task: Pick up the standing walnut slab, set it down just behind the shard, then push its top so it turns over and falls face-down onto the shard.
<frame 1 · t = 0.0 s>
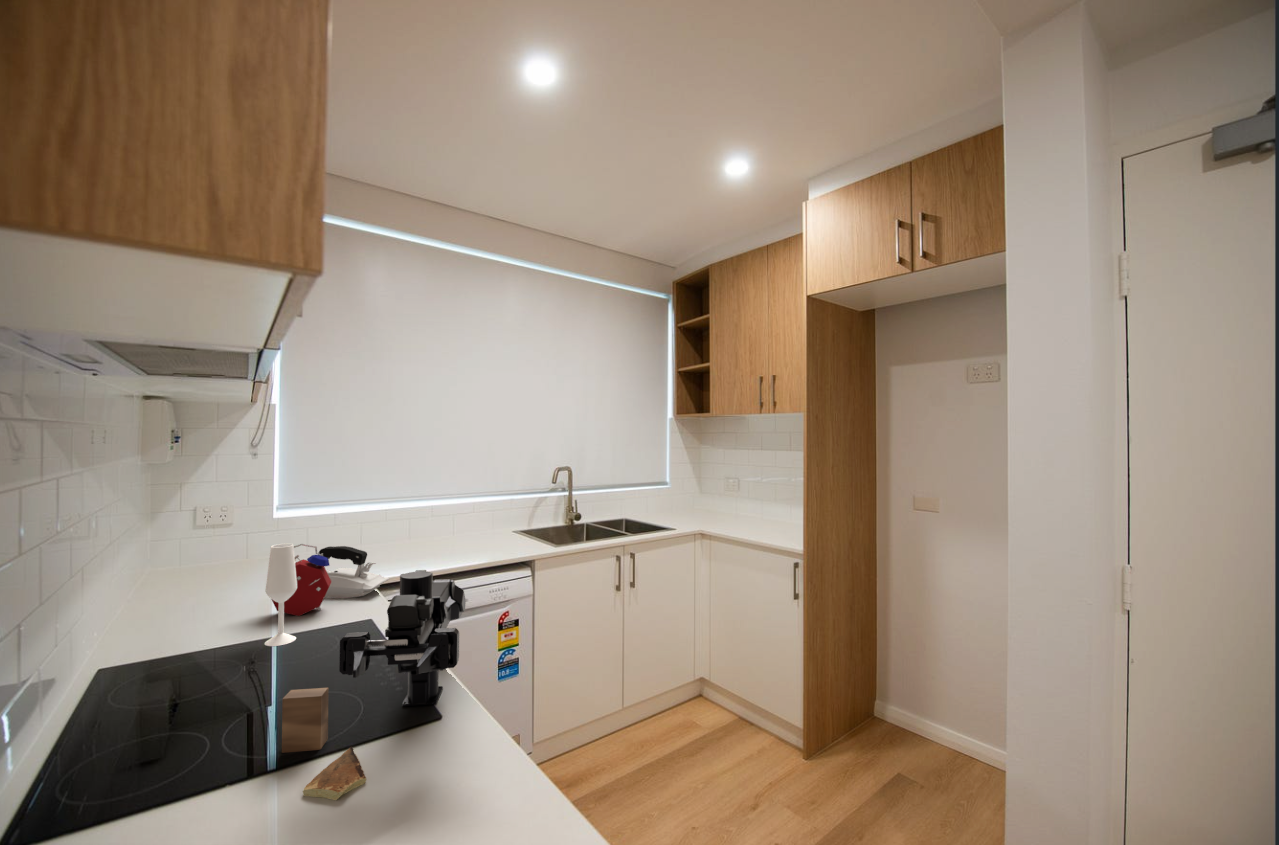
hand: (386, 672, 83), 17 cm above the counter, tool horizontal, fingers open, 9 cm apart
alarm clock: (299, 614, 155), on the counter
champagne flute: (280, 641, 136), on the counter
iron: (344, 594, 174), on the counter
walnut slab: (305, 745, 92), on the counter
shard: (332, 783, 83), on the counter
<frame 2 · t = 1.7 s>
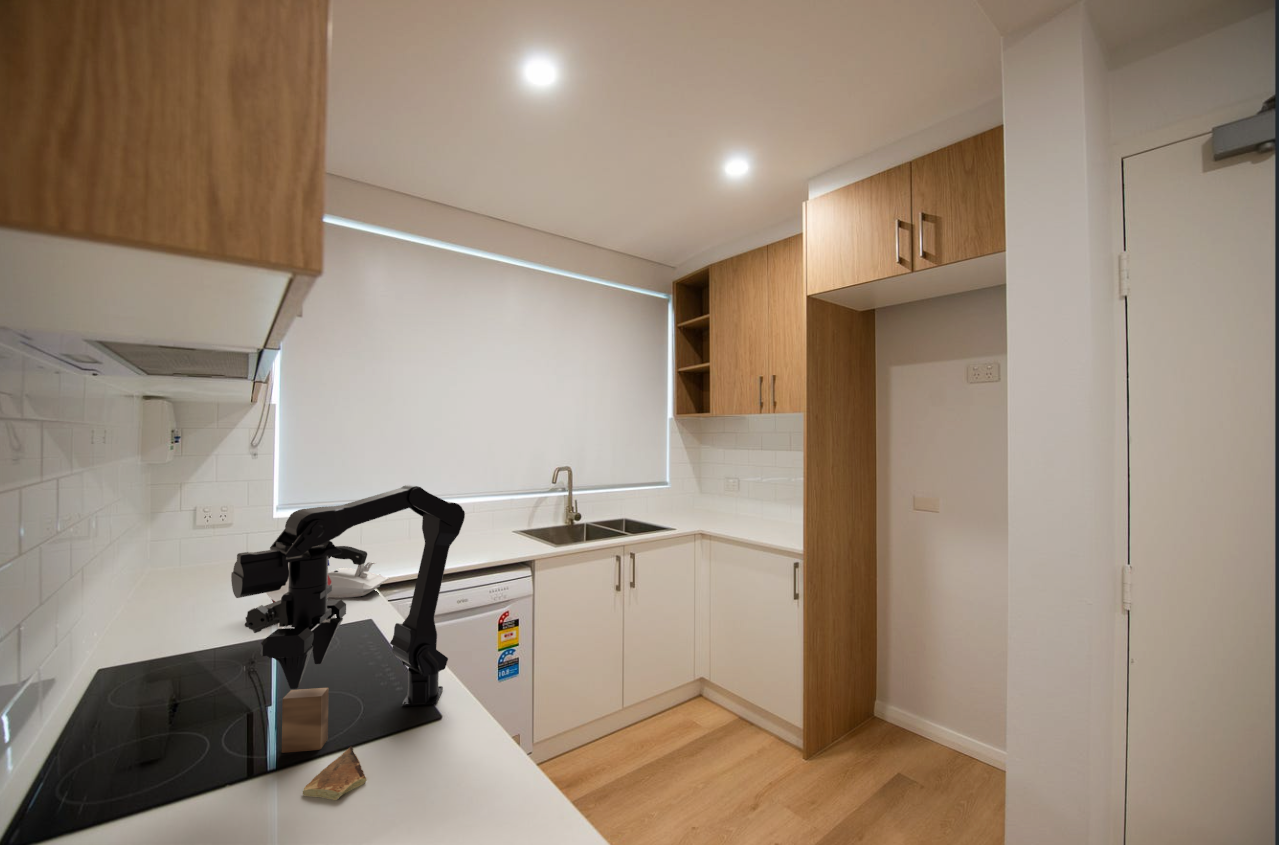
hand: (306, 675, 92), 12 cm above the counter, tool pointing down, fingers open, 9 cm apart
nothing on the counter moved.
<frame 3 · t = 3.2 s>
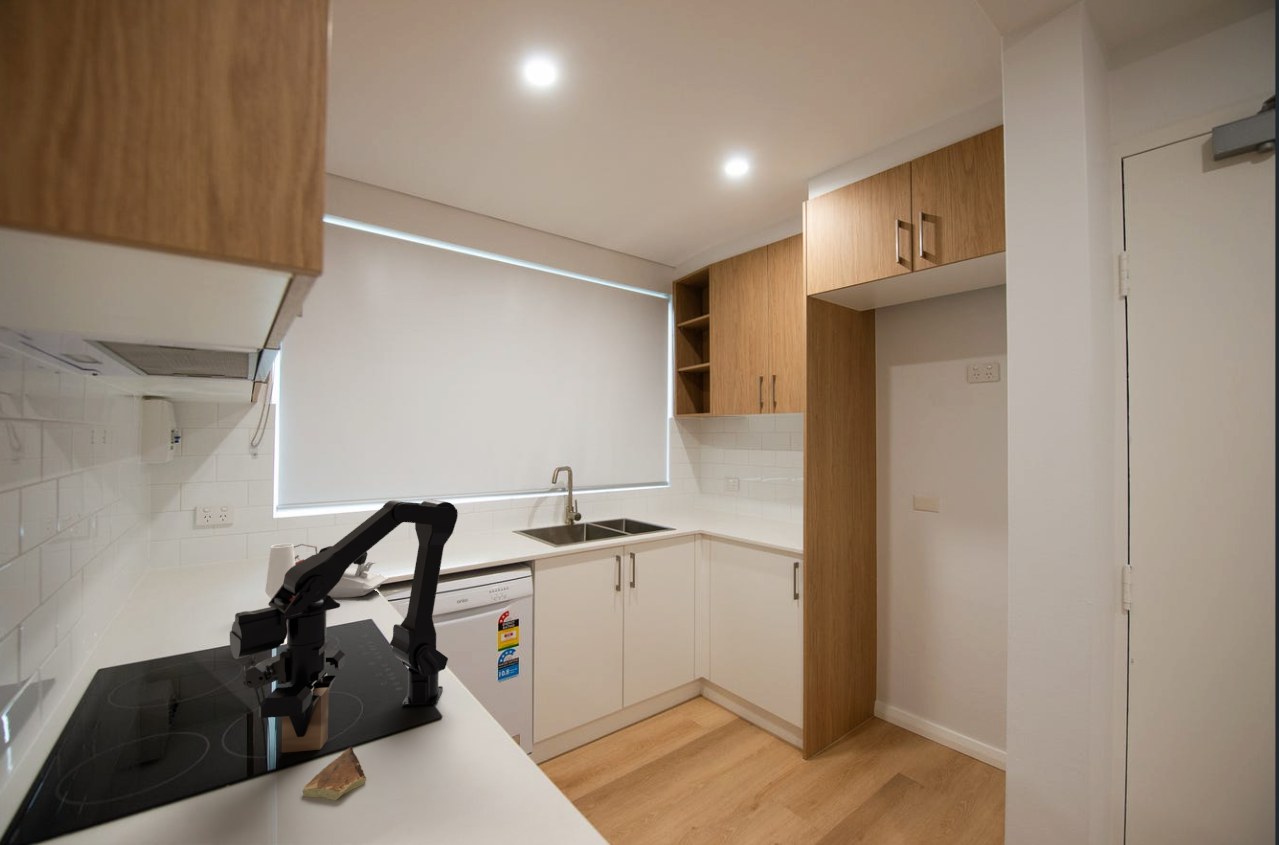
hand: (305, 730, 92), 3 cm above the counter, tool pointing down, fingers closed on walnut slab, 3 cm apart
walnut slab: (305, 745, 92), on the counter, touching gripper
everything else where it was.
when the fingers open (3 cm above the counter, at t = 7.0 s): walnut slab stays where it is, on the counter.
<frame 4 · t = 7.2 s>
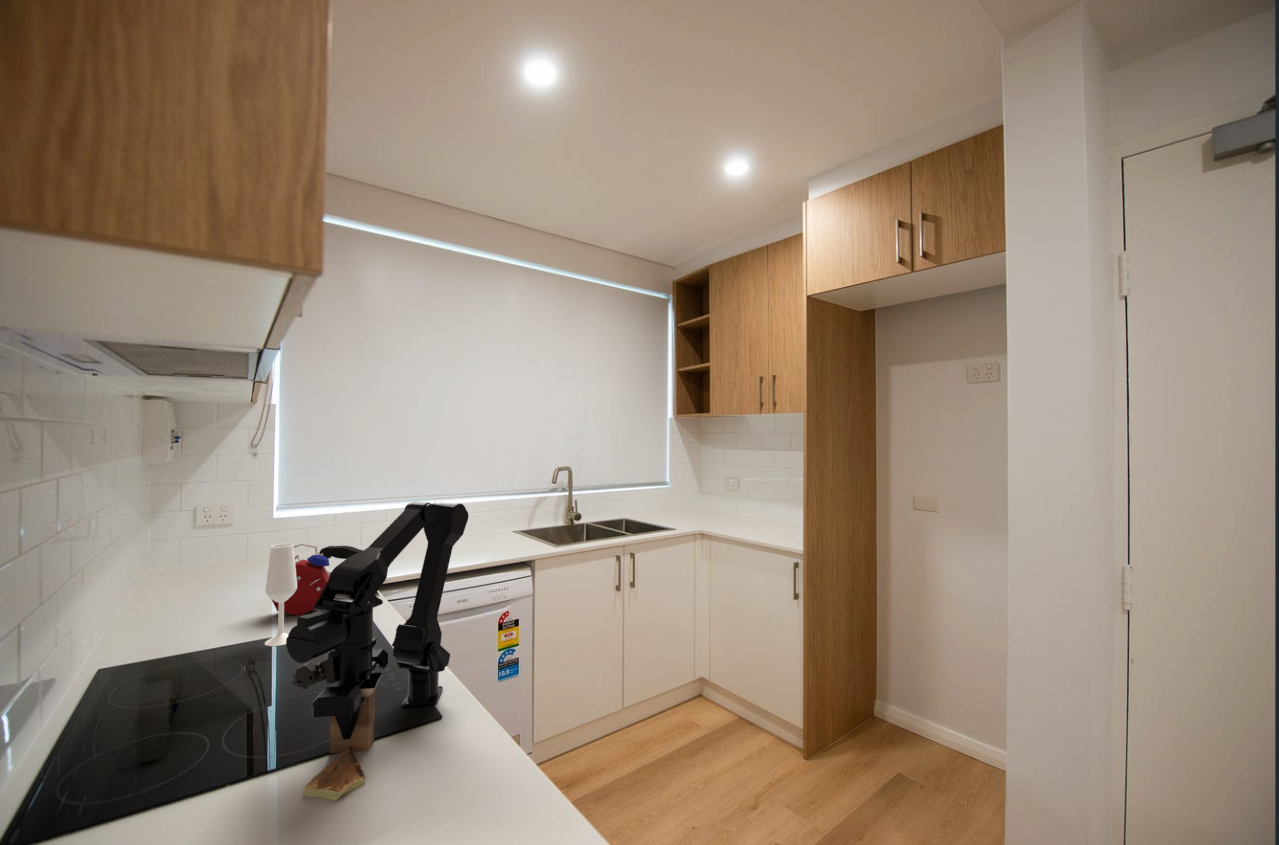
hand: (352, 730, 91), 3 cm above the counter, tool pointing down, fingers open, 5 cm apart
walnut slab: (352, 746, 92), on the counter
everything else where it was.
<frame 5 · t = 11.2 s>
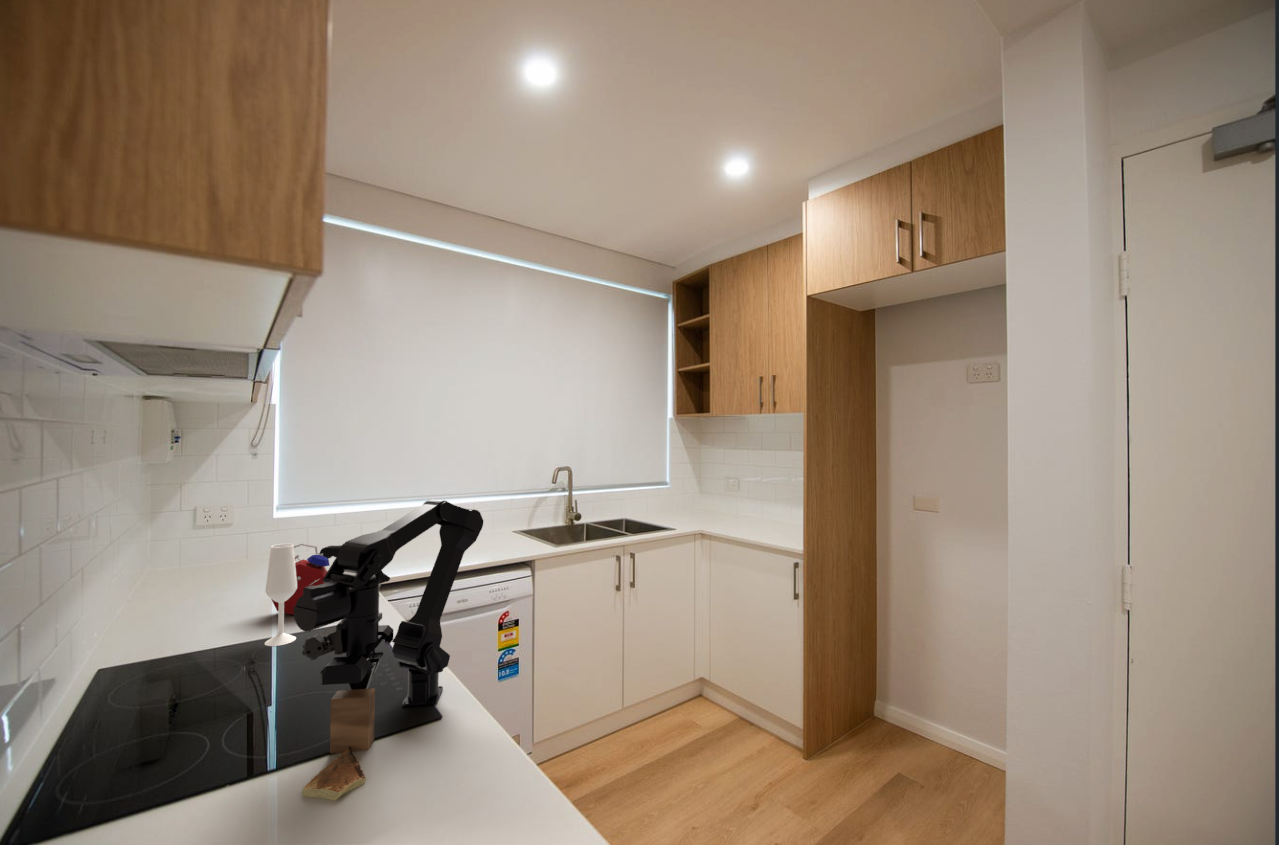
hand: (359, 701, 95), 6 cm above the counter, tool pointing down, fingers closed
walnut slab: (352, 746, 92), on the counter, touching gripper
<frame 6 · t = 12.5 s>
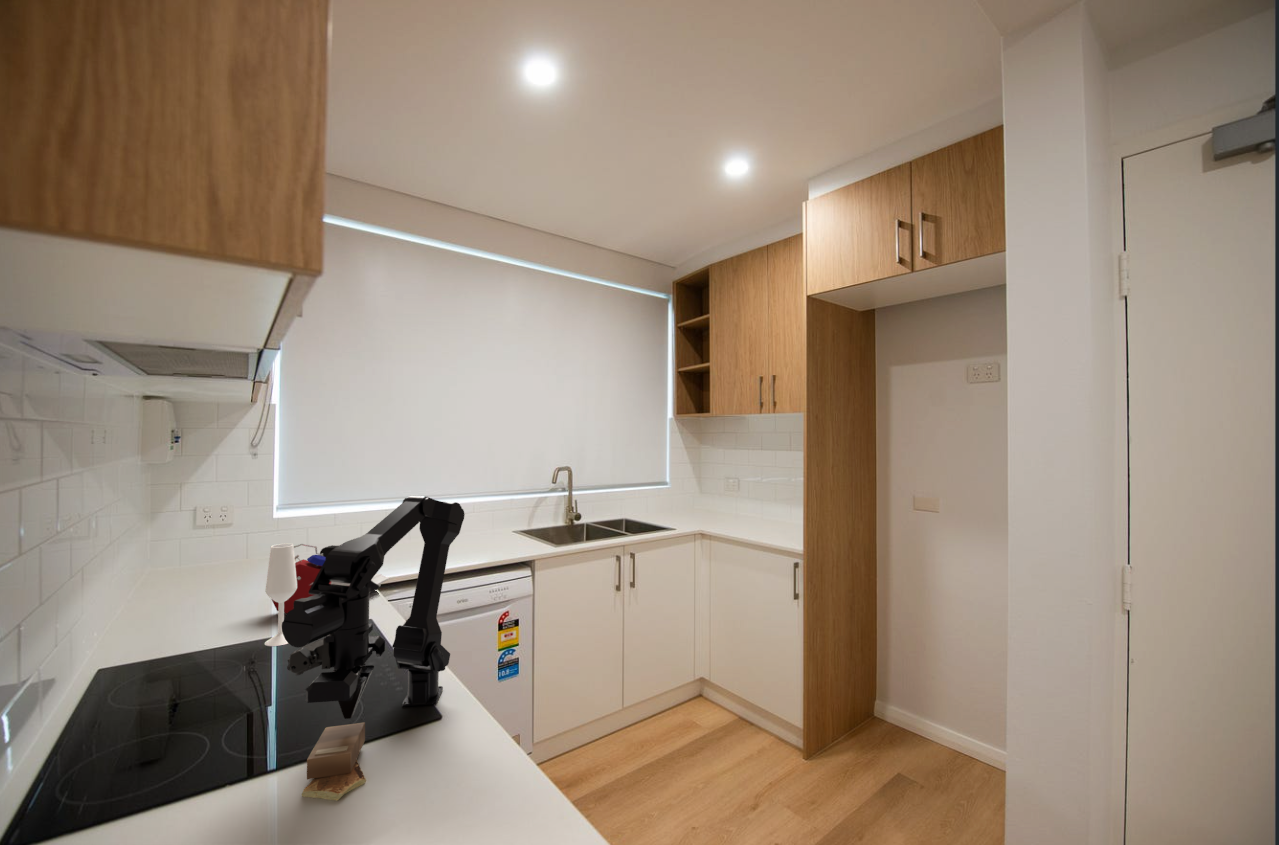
hand: (348, 717, 90), 6 cm above the counter, tool pointing down, fingers closed
walnut slab: (345, 733, 91), point 3 cm above the counter, tilted 90°, touching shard
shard: (331, 785, 83), on the counter, touching walnut slab
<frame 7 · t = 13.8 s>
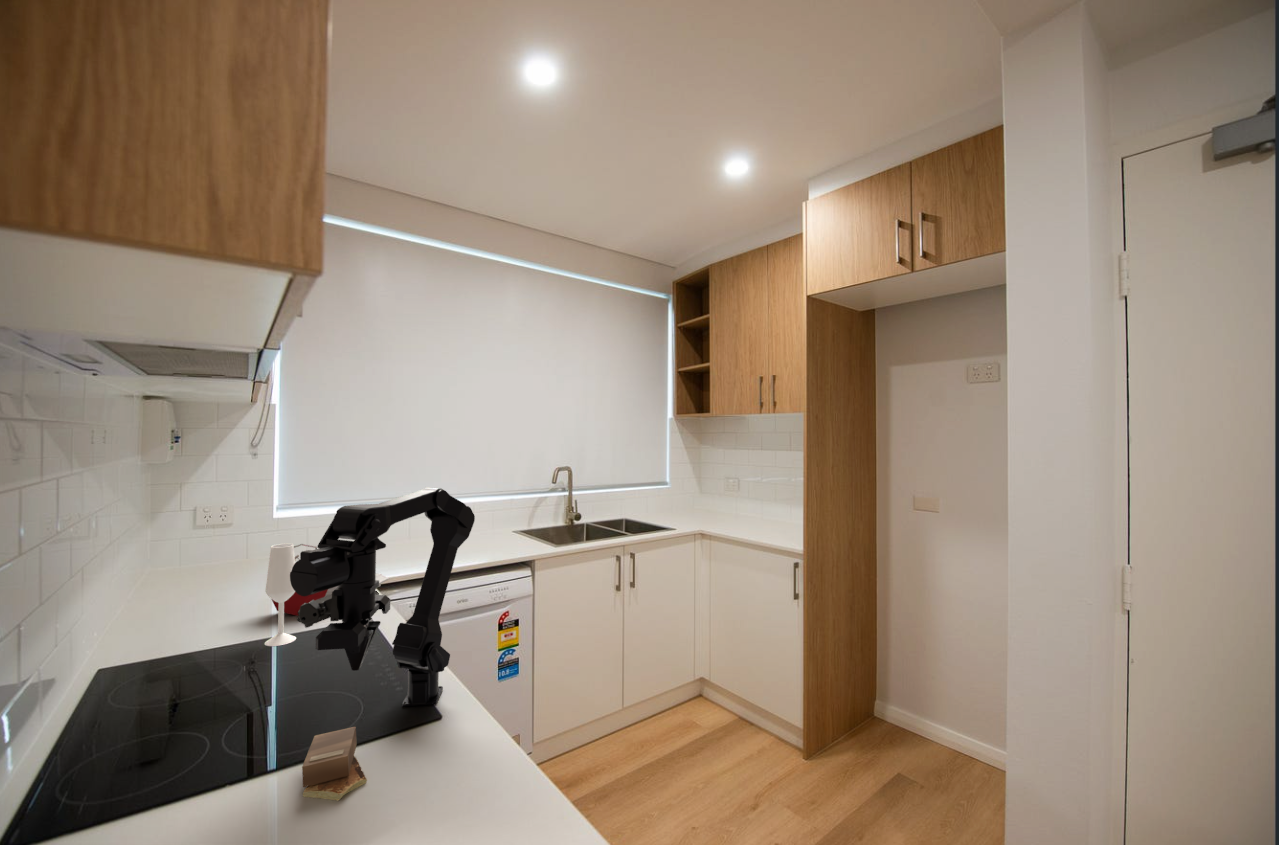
hand: (356, 669, 93), 13 cm above the counter, tool pointing down, fingers closed
walnut slab: (335, 740, 89), point 3 cm above the counter, tilted 89°
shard: (331, 785, 83), on the counter
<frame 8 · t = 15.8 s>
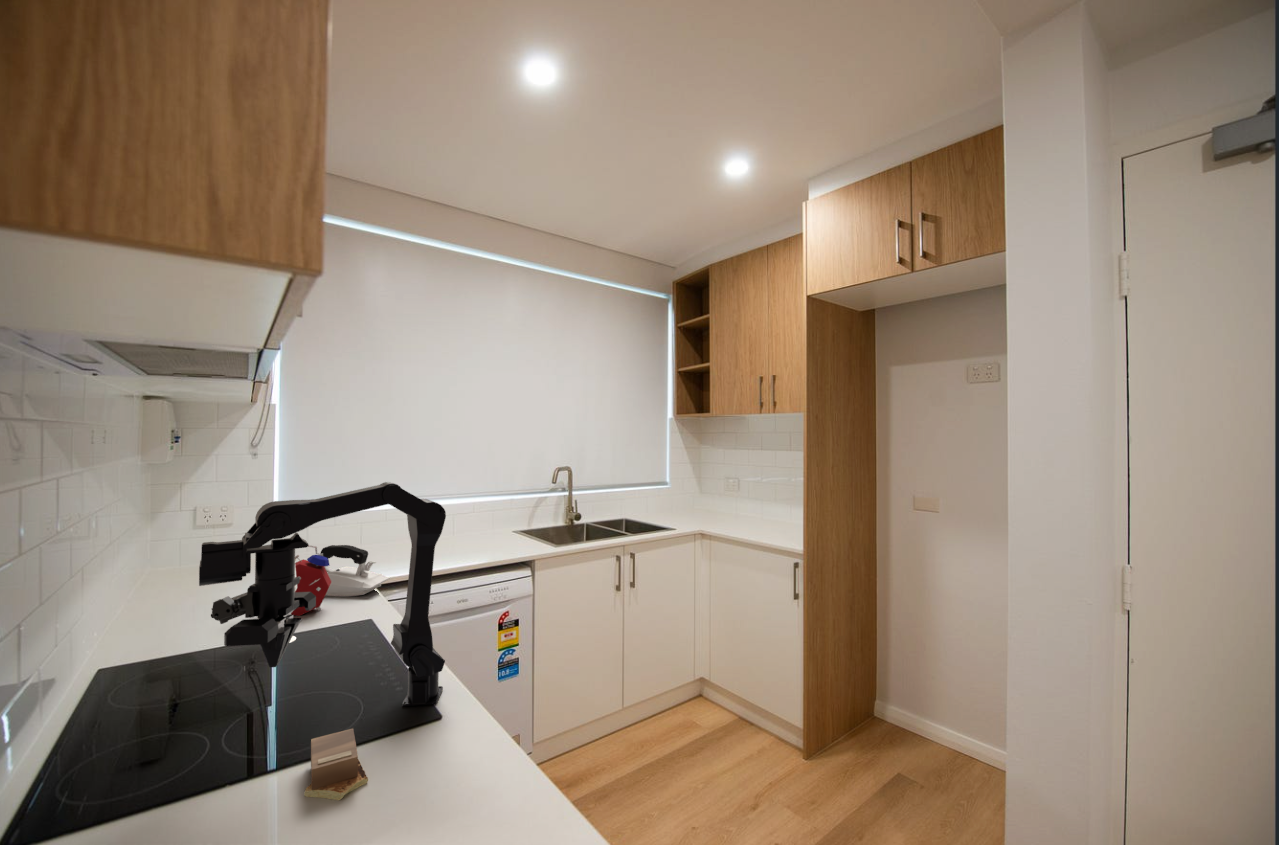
hand: (273, 666, 93), 13 cm above the counter, tool pointing down, fingers closed
walnut slab: (332, 742, 88), point 3 cm above the counter, tilted 90°, touching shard
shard: (333, 785, 83), on the counter, touching walnut slab
at the end: walnut slab tilted 90°; walnut slab 5.9 cm from the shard (horizontally); the gripper is holding nothing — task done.
